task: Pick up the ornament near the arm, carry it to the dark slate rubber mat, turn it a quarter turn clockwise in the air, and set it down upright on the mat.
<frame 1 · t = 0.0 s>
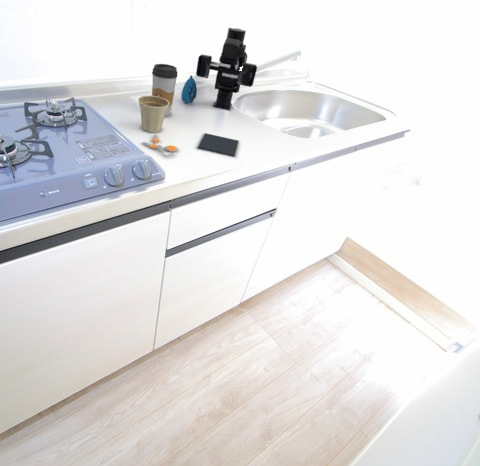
hand: (222, 76, 98), 17 cm above the counter, tool horizontal, fingers open, 9 cm apart
flower pot: (151, 129, 104), on the counter
coffee cup: (161, 114, 115), on the counter
ornament: (187, 103, 126), on the counter
mat: (218, 145, 101), on the counter
key chain: (159, 147, 95), on the counter
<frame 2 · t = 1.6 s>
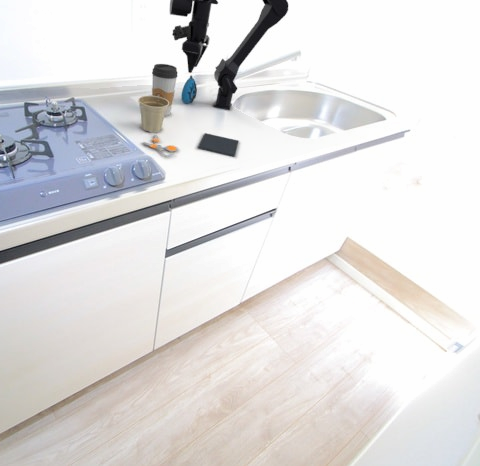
hand: (192, 69, 118), 12 cm above the counter, tool pointing down, fingers open, 9 cm apart
nothing on the counter moved.
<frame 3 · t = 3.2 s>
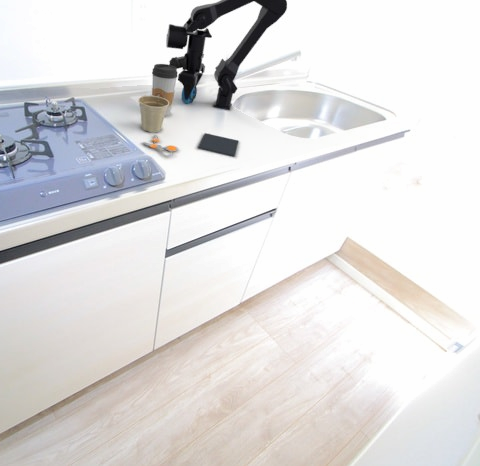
hand: (188, 96, 124), 3 cm above the counter, tool pointing down, fingers closed on ornament, 8 cm apart
ornament: (187, 103, 126), on the counter, touching gripper
everything else where it was.
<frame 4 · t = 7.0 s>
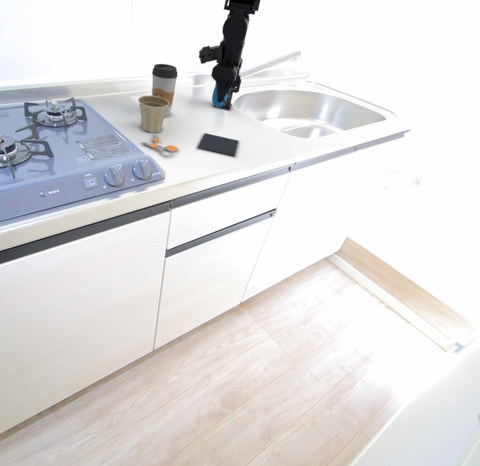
hand: (221, 98, 96), 12 cm above the counter, tool pointing down, fingers closed on ornament, 8 cm apart
ornament: (219, 107, 97), point 10 cm above the counter, touching gripper
everything else where it was.
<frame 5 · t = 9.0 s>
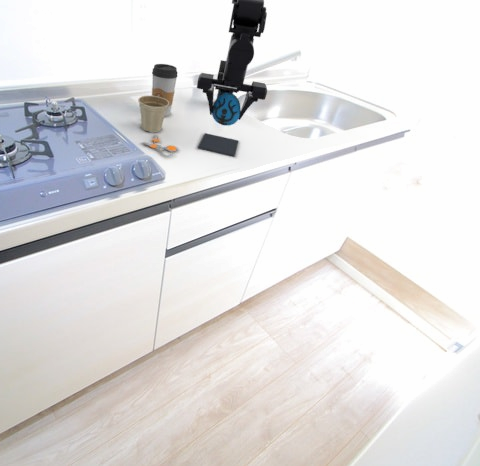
hand: (225, 116, 95), 9 cm above the counter, tool pointing down, fingers closed on ornament, 8 cm apart
ornament: (222, 125, 97), point 6 cm above the counter, touching gripper
everything else where it was.
when the fingers open (3 cm above the counter, at t = 11.0 s): ornament stays where it is, resting on mat.
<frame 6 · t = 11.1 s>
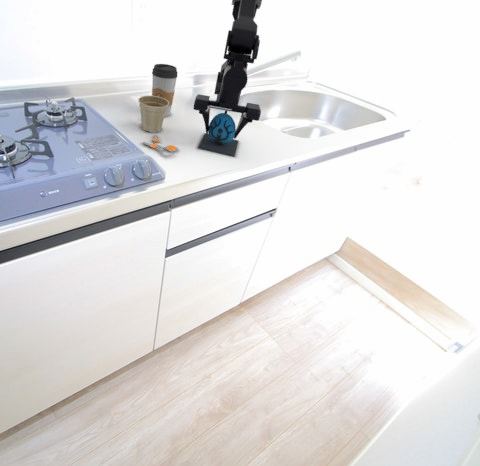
hand: (220, 135, 99), 3 cm above the counter, tool pointing down, fingers open, 8 cm apart
ornament: (218, 143, 101), resting on mat
everything else where it was.
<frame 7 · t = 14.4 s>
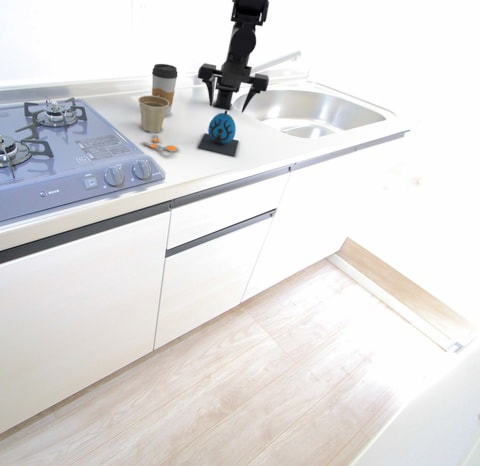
hand: (226, 108, 94), 11 cm above the counter, tool pointing down, fingers open, 9 cm apart
nothing on the counter moved.
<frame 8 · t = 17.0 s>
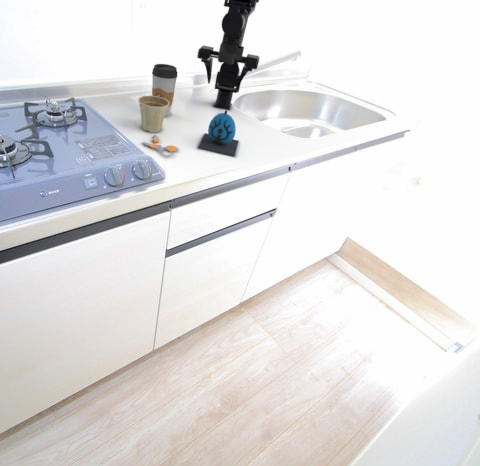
hand: (222, 86, 107), 12 cm above the counter, tool pointing down, fingers open, 9 cm apart
nothing on the counter moved.
at the end: ornament inside the target area on the mat (0.3 cm from its centre), point 0.3 cm above the mat's base; ornament tilted 0°; ornament moved 35.1 cm from its start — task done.
